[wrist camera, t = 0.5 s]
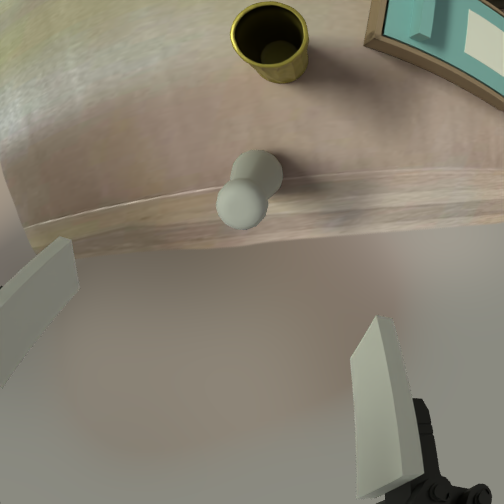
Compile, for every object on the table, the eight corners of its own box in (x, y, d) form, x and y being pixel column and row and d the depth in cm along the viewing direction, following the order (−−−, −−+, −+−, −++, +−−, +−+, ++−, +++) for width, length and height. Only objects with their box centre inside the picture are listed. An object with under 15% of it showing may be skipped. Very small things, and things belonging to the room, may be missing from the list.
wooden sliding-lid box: (376, -33, 19) (387, -49, 15) (508, 36, 19) (530, 34, 14) (363, 45, 26) (374, 37, 21) (498, 109, 25) (521, 114, 20)
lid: (393, -39, 16) (403, -52, 13) (527, 39, 15) (544, 38, 12) (382, 35, 21) (393, 28, 18) (519, 108, 21) (537, 112, 17)
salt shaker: (256, 136, 33) (233, 158, 22) (294, 167, 34) (291, 206, 23) (226, 172, 36) (191, 212, 25) (262, 201, 37) (245, 254, 26)
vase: (317, 48, 27) (330, 18, 15) (293, 92, 30) (290, 89, 18) (267, 26, 26) (247, -16, 14) (244, 70, 29) (208, 54, 17)
